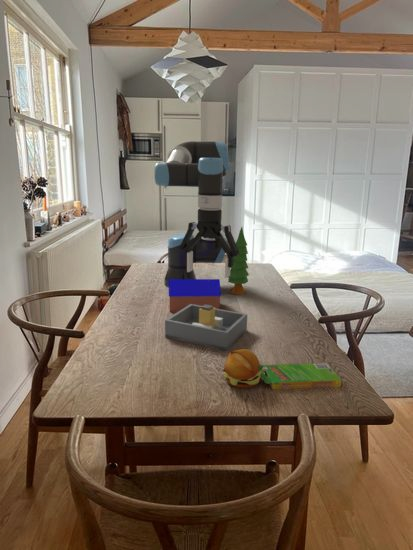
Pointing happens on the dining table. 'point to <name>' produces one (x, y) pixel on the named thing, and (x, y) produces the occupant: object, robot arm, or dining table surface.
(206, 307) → the yellow jar
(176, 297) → the house
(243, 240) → the decorative tree
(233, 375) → the cheeseburger
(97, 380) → the dining table surface
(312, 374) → the game box
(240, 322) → the box
